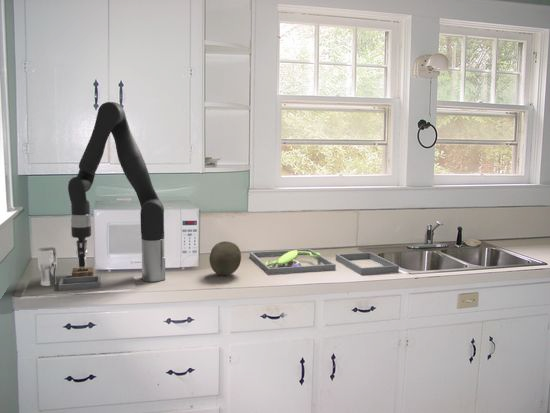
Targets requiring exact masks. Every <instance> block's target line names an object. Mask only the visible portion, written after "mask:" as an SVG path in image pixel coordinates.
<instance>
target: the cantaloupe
mask: <svg viewBox="0 0 550 413" xmlns="http://www.w3.org/2000/svg"><path fill="white" fill-rule="evenodd" d="M208 261H209V264H210V268H211V269H212V271H213V272H214V273H215V274H216V275H218V276H221V277H227V276H229V275H232V274H234V273H235V272H236V271H237V270H238V269H239V267H240V265H241V261H242V253H241V249H240V247H239V246H238V245H237V244H236V243H234V242H232V241H220V242H218V243H216V244H215V245H214V246H213V247H212V248H211V251H210V254H209V260H208Z"/></svg>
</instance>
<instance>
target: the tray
mask: <svg viewBox="0 0 550 413" xmlns="http://www.w3.org/2000/svg"><path fill="white" fill-rule="evenodd" d="M101 279H102V278H101V275H93V276H85V277H72V276H70V277H60V279H59V283H58V291H68V290H69V291H70V290H71V291H73V290H85V289H100V288H101V283H102V282H101Z"/></svg>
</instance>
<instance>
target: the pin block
mask: <svg viewBox="0 0 550 413" xmlns="http://www.w3.org/2000/svg"><path fill="white" fill-rule="evenodd" d="M85 276H94V267H93V266H88V267H87V266H86V271H80V272H79V267H73V268H72V271H71V277H85Z"/></svg>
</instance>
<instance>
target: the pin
mask: <svg viewBox="0 0 550 413" xmlns="http://www.w3.org/2000/svg"><path fill="white" fill-rule="evenodd" d="M75 253H76V255H77V256H78V253H77V250H76V252H75ZM80 254H83V253H80ZM88 254H89V250H88V249H86V252H85V266H84V267H79V266H78V268H79V272H80V271H86V267H87V255H88Z"/></svg>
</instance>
